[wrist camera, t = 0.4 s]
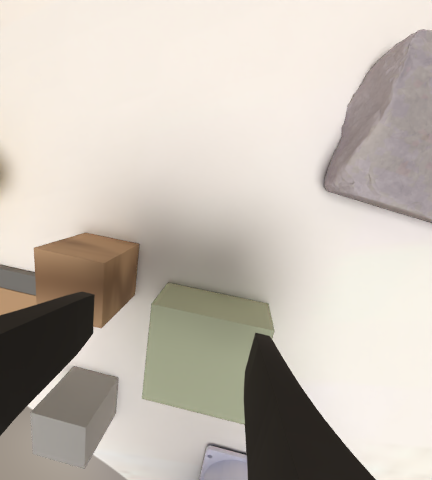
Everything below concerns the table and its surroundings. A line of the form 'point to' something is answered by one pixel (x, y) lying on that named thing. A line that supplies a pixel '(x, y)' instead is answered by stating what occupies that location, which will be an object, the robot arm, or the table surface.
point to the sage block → (202, 350)
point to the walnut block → (88, 272)
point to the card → (16, 289)
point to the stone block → (390, 133)
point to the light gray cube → (74, 416)
